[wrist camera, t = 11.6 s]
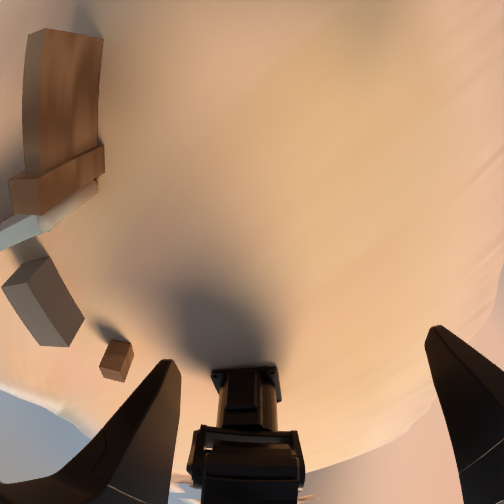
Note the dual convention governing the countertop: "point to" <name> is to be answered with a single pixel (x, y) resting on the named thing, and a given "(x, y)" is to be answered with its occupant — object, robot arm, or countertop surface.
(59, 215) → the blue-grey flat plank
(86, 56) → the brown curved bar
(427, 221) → the countertop surface
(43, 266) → the grey rectangular block
